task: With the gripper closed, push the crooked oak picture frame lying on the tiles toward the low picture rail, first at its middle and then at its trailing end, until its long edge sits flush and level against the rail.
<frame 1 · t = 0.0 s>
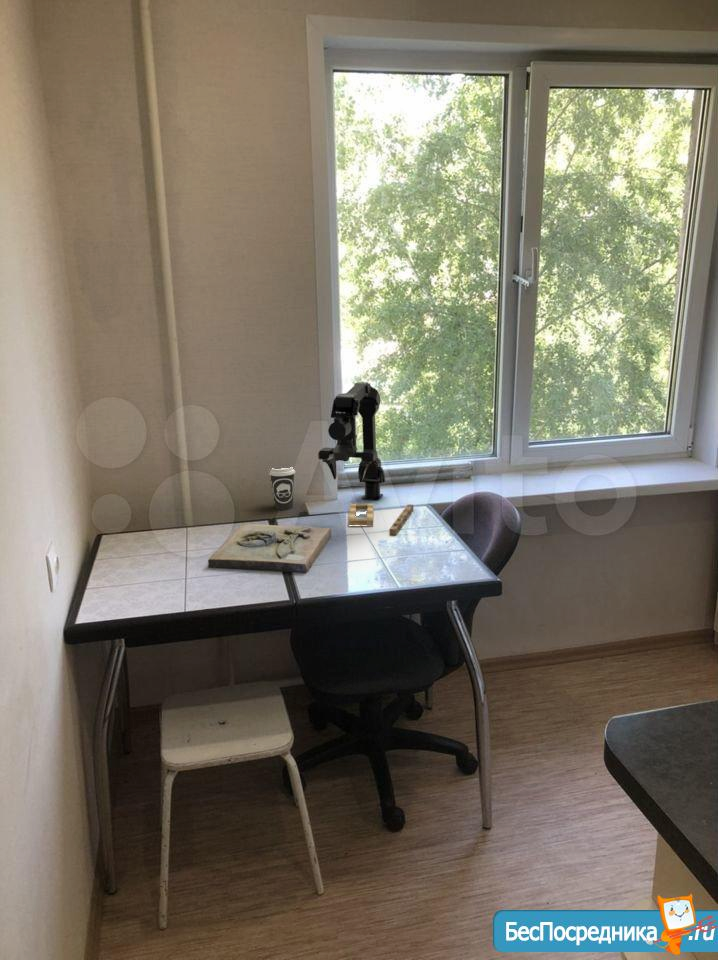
hand: (348, 479, 241), 15 cm above the table, fingers open, 9 cm apart
coffee cup: (283, 507, 262), on the table
rail: (402, 522, 244), on the table
plaque: (272, 553, 221), on the table
frame: (361, 517, 249), on the table
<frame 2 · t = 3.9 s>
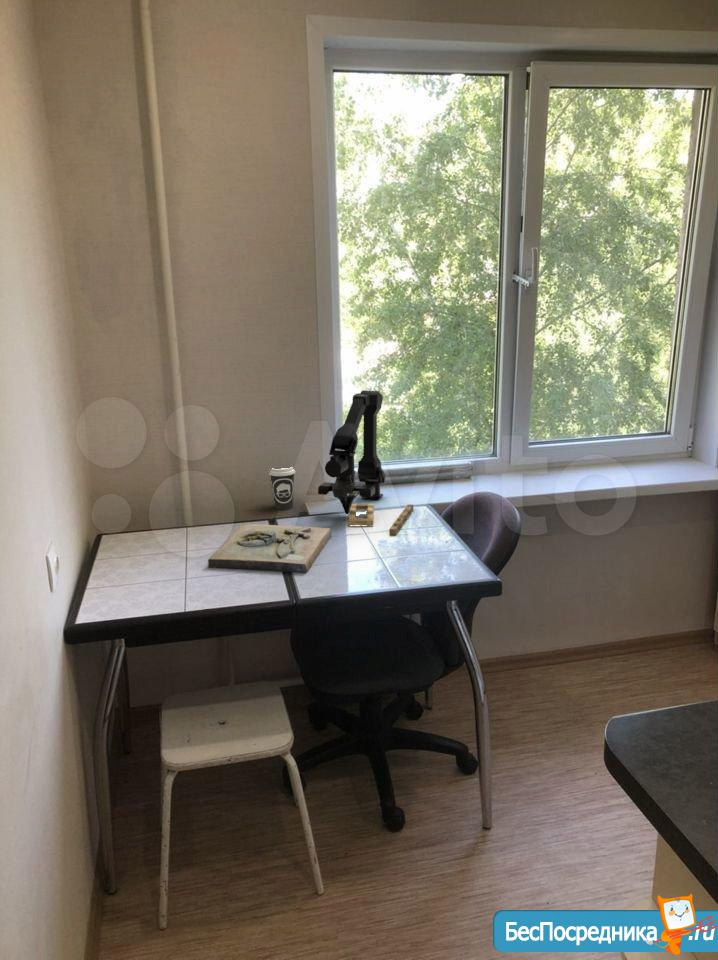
hand: (347, 513, 250), 1 cm above the table, fingers closed
frame: (361, 517, 249), on the table, touching gripper
everything else where it was.
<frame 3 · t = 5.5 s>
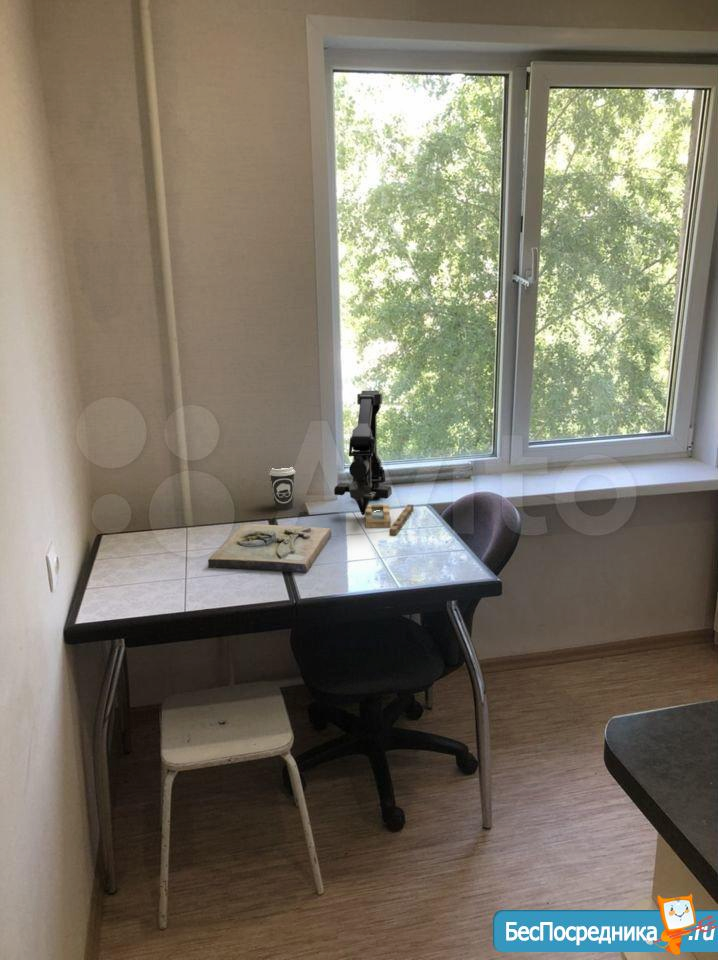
hand: (363, 514, 249), 1 cm above the table, fingers closed
frame: (377, 518, 248), on the table, touching gripper
everything else where it was.
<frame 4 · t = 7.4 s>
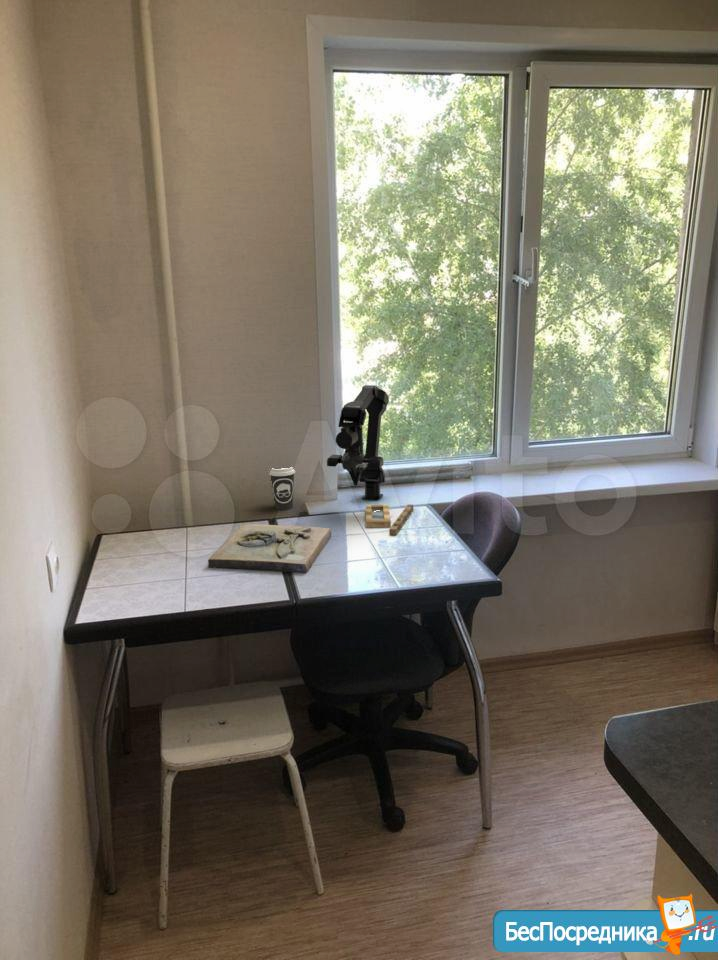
hand: (356, 485, 252), 10 cm above the table, fingers closed
frame: (377, 518, 248), on the table
everything else where it was.
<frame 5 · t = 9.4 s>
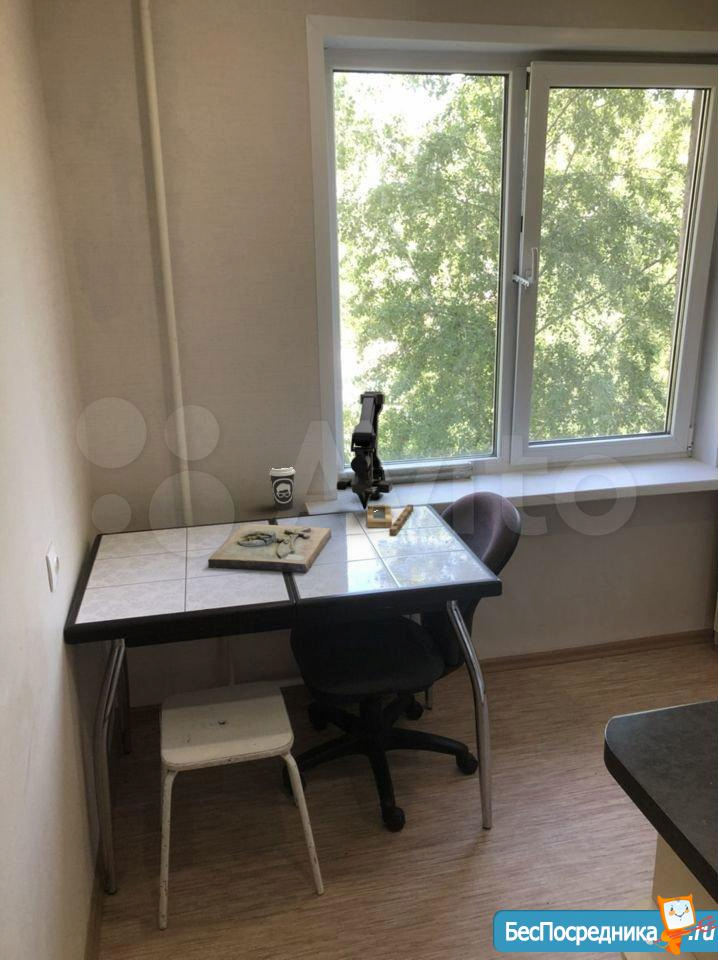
hand: (364, 509, 255), 1 cm above the table, fingers closed
frame: (379, 518, 248), on the table, touching gripper
everything else where it was.
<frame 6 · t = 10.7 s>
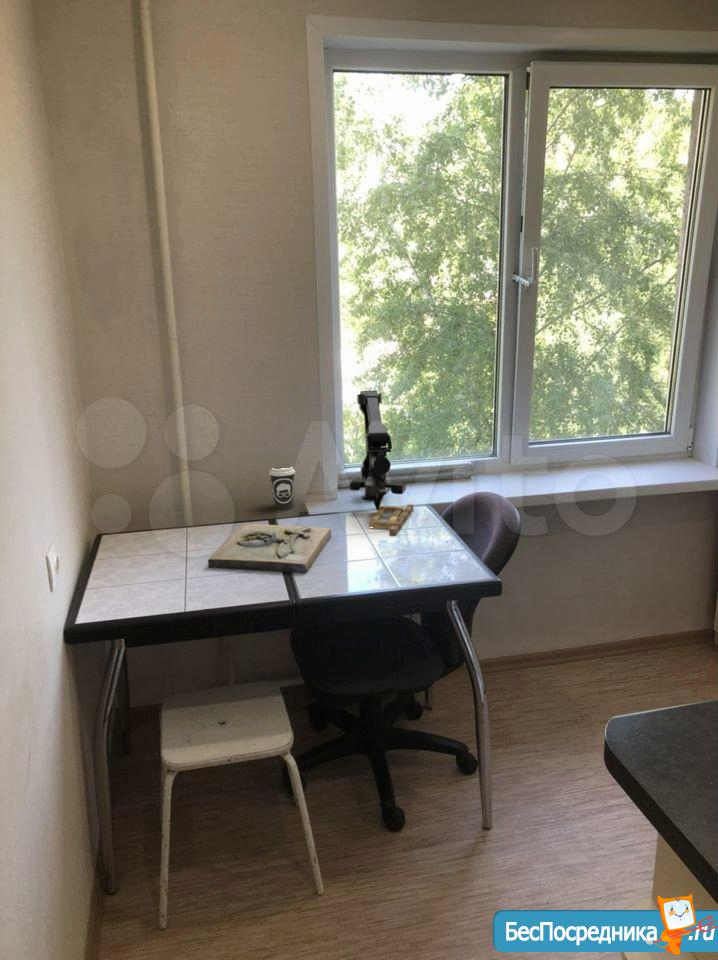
hand: (377, 509, 253), 1 cm above the table, fingers closed
frame: (386, 519, 246), on the table, touching gripper, rail
everything else where it was.
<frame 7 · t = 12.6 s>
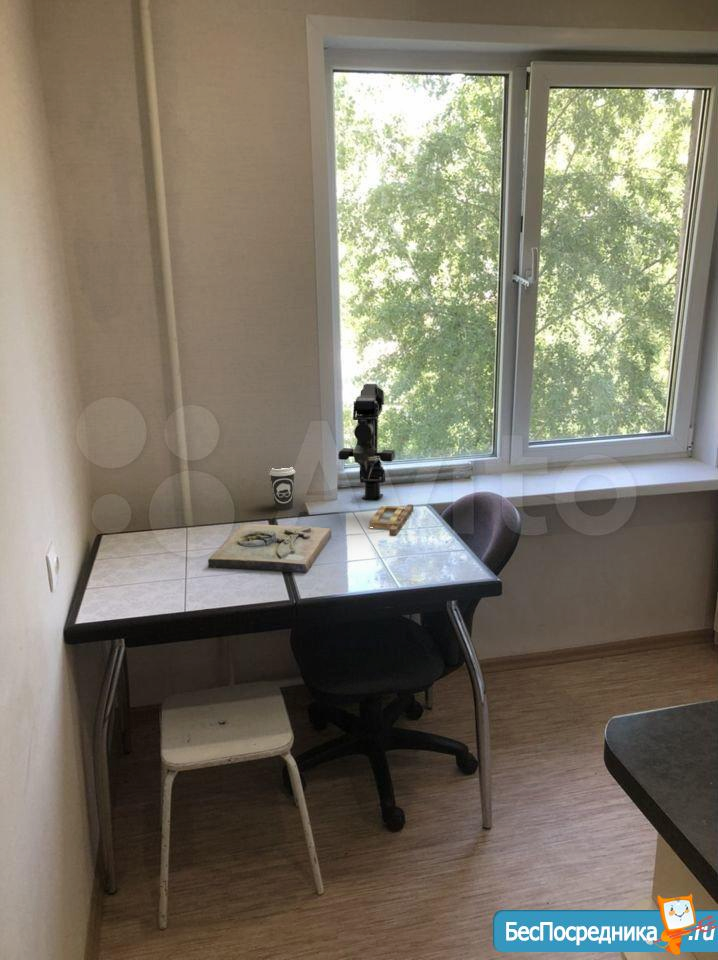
hand: (367, 479, 251), 12 cm above the table, fingers closed
frame: (387, 520, 246), on the table
everything else where it was.
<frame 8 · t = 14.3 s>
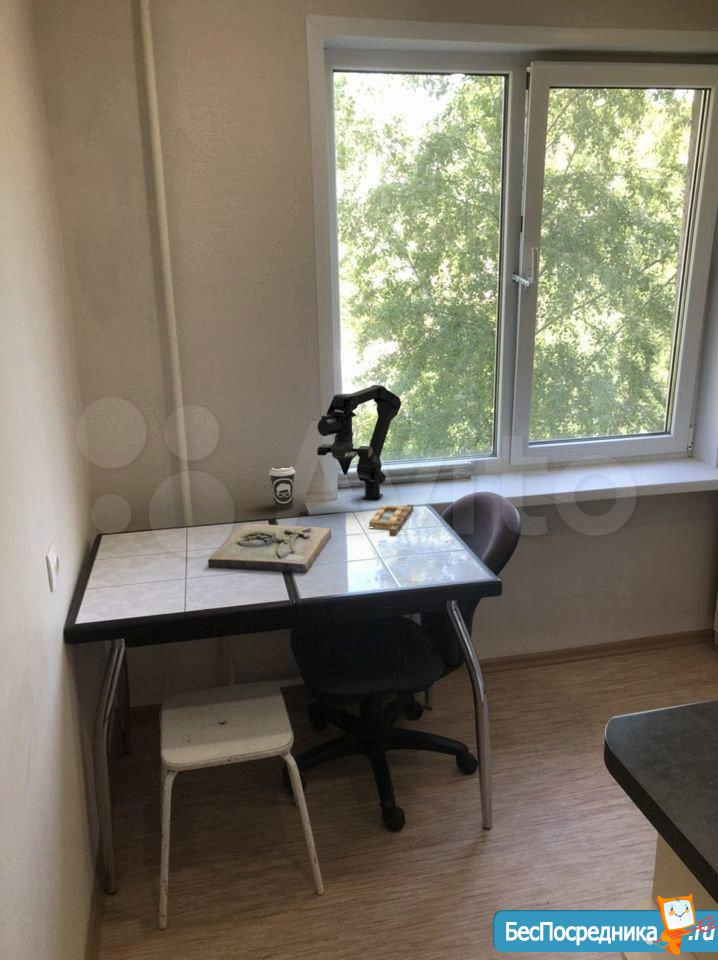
hand: (345, 474, 257), 12 cm above the table, fingers closed
nothing on the table moved.
at the end: frame inside the target area (0.6 cm from its centre), on the table; frame moved 9.2 cm from its start; frame tilted 0° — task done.
